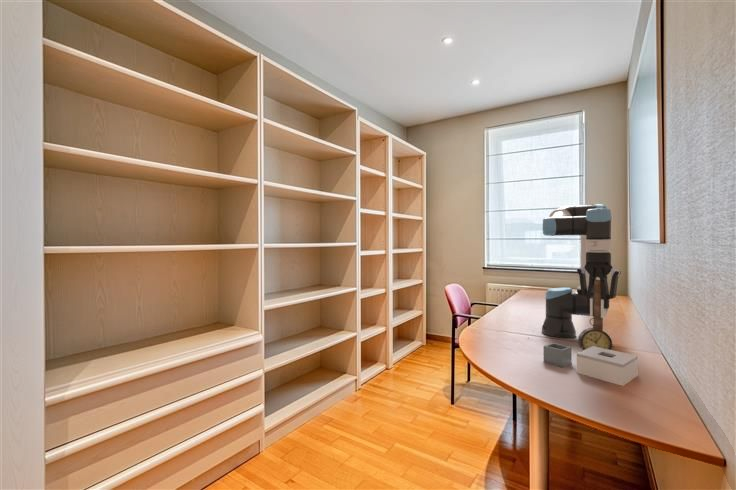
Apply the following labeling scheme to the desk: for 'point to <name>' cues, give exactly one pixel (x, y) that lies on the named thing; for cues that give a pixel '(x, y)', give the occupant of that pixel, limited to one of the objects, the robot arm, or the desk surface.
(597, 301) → the brown wooden rod
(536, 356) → the desk surface
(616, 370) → the white box
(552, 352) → the pen cup
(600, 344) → the alarm clock
